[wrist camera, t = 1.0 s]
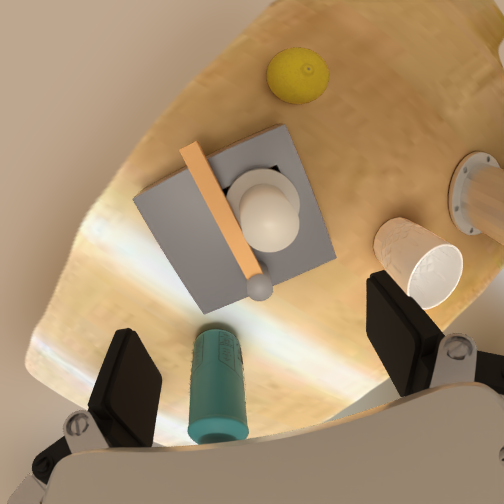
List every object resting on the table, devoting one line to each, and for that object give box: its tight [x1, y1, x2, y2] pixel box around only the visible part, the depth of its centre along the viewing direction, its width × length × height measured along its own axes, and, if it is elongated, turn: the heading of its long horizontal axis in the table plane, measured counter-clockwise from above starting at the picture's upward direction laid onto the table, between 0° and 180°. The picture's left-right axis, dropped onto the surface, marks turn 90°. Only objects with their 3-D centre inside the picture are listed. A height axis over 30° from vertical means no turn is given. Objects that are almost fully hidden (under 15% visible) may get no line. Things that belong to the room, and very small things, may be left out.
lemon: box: [266, 47, 329, 104], centre depth 23 cm, size 6×6×8 cm
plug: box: [226, 168, 300, 252], centre depth 27 cm, size 7×7×10 cm
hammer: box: [179, 141, 273, 301], centre depth 27 cm, size 16×2×4 cm, turn 24°
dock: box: [133, 124, 336, 314], centre depth 31 cm, size 16×15×4 cm
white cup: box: [373, 217, 463, 309], centre depth 31 cm, size 8×8×10 cm
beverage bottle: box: [188, 329, 249, 445], centre depth 31 cm, size 6×7×20 cm
